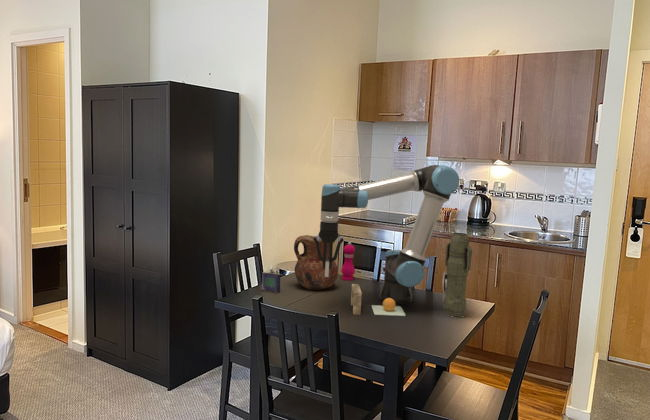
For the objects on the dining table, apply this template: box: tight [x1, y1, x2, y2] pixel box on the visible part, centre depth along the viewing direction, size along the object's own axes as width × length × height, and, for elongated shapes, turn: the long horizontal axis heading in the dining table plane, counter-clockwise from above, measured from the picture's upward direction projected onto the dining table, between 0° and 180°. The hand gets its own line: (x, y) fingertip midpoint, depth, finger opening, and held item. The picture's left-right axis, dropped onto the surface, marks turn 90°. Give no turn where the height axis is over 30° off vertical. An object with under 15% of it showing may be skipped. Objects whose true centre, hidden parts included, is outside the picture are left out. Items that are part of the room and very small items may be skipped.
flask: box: [261, 268, 281, 294], centre depth 244 cm, size 9×3×11 cm, turn 71°
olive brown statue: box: [443, 232, 473, 318], centre depth 220 cm, size 9×12×35 cm
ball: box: [382, 298, 397, 311], centre depth 223 cm, size 6×6×6 cm
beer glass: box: [441, 271, 447, 306], centre depth 234 cm, size 7×7×15 cm
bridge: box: [350, 283, 363, 316], centre depth 223 cm, size 3×14×9 cm, turn 1°
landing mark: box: [371, 304, 406, 317], centre depth 223 cm, size 13×13×1 cm
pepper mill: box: [340, 241, 356, 282], centre depth 275 cm, size 7×7×20 cm
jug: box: [293, 234, 339, 291], centre depth 256 cm, size 22×21×25 cm
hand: (326, 276), depth 221 cm, fingers closed
